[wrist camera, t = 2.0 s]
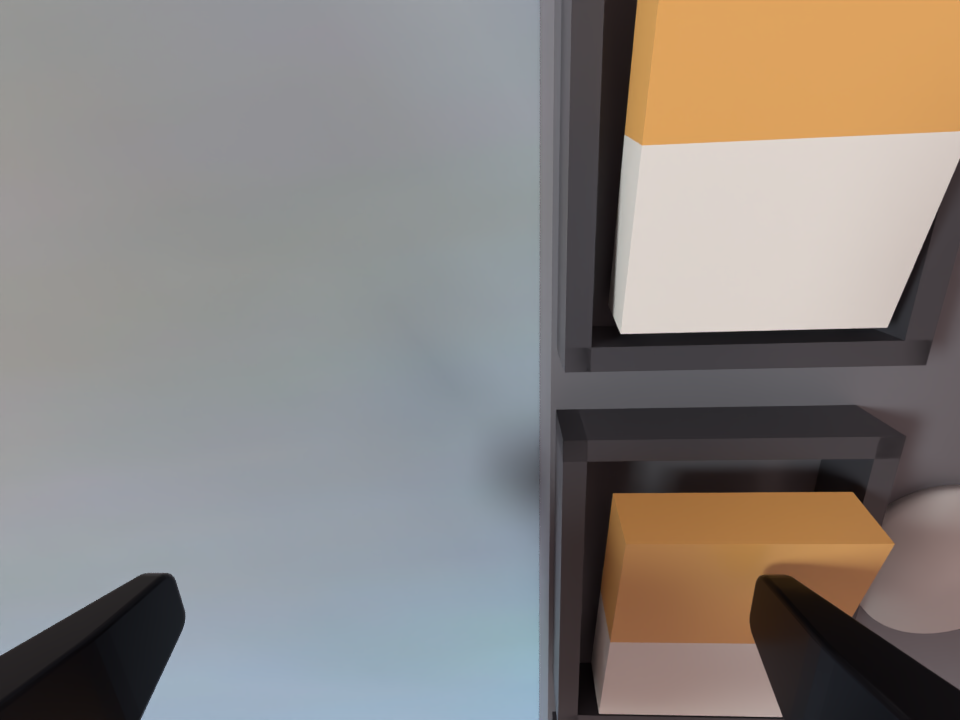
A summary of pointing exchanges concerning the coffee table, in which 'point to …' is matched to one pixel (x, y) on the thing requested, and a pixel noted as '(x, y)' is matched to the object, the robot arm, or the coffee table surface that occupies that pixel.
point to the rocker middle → (715, 592)
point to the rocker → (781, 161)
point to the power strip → (723, 392)
